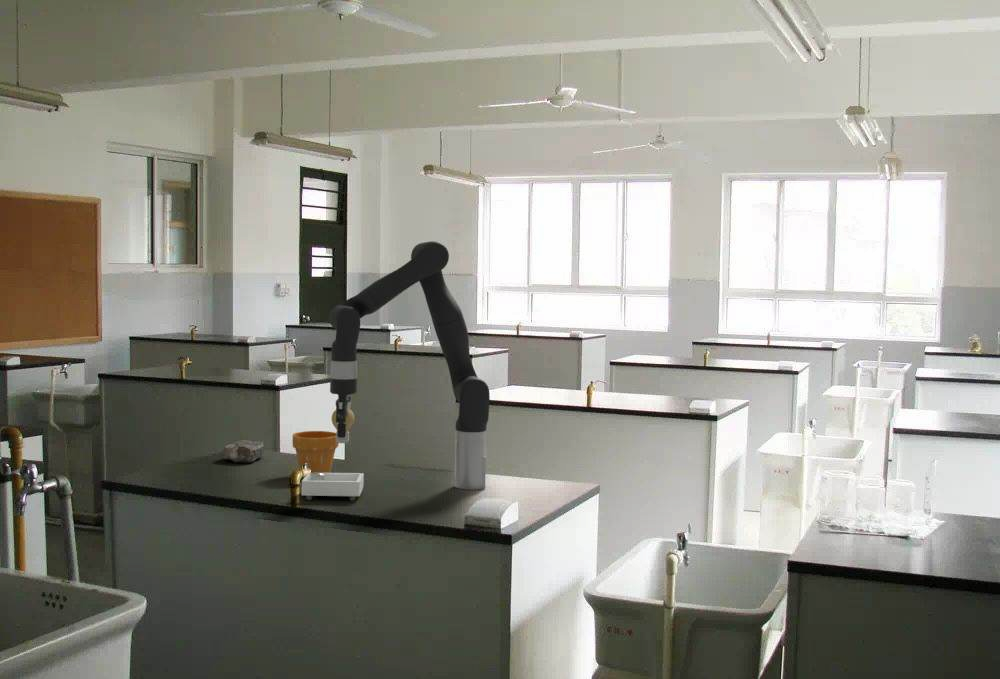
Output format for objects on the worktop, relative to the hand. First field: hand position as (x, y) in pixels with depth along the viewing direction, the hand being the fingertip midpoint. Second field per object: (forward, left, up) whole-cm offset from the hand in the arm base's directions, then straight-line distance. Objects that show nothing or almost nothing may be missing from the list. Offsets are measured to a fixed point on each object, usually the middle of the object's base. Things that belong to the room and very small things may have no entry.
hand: (342, 435), depth 284 cm
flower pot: (+11, -28, -18) cm, 35 cm away
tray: (+2, 0, -18) cm, 18 cm away
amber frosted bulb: (0, 0, -2) cm, 2 cm away
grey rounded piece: (+7, 0, -15) cm, 17 cm away
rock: (+38, -52, -18) cm, 67 cm away
